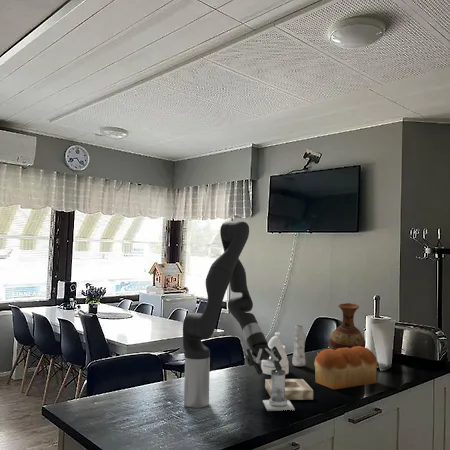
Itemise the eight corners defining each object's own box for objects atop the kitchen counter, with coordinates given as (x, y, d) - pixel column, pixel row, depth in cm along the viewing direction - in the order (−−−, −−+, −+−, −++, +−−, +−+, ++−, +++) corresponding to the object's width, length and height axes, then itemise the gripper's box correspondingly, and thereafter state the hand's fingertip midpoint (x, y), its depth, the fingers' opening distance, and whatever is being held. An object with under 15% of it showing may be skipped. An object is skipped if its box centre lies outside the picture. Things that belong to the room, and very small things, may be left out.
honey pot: (270, 367, 228) (270, 330, 229) (293, 371, 220) (293, 333, 221) (256, 372, 217) (256, 333, 218) (280, 376, 210) (280, 336, 211)
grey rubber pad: (267, 410, 164) (267, 409, 164) (262, 401, 174) (262, 400, 174) (294, 410, 165) (294, 408, 165) (288, 401, 175) (288, 399, 175)
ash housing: (272, 399, 176) (272, 390, 176) (265, 387, 192) (265, 379, 192) (313, 399, 177) (313, 390, 178) (302, 387, 193) (302, 379, 193)
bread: (332, 390, 191) (333, 354, 192) (314, 382, 202) (314, 348, 203) (377, 383, 202) (377, 349, 203) (357, 376, 213) (357, 344, 214)
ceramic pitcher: (329, 362, 239) (329, 304, 240) (327, 354, 258) (327, 300, 260) (368, 364, 235) (368, 305, 237) (363, 356, 255) (363, 301, 257)
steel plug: (270, 407, 166) (270, 373, 167) (267, 401, 172) (267, 368, 173) (288, 407, 166) (288, 373, 167) (285, 401, 173) (285, 368, 174)
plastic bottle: (296, 364, 234) (296, 324, 235) (308, 366, 230) (308, 325, 231) (289, 366, 229) (289, 325, 230) (301, 368, 225) (301, 327, 226)
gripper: (243, 332, 179) (258, 369, 168) (273, 330, 186) (290, 365, 175) (235, 343, 183) (250, 380, 173) (265, 341, 190) (281, 376, 180)
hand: (270, 372), depth 174 cm, fingers open, 8 cm apart
